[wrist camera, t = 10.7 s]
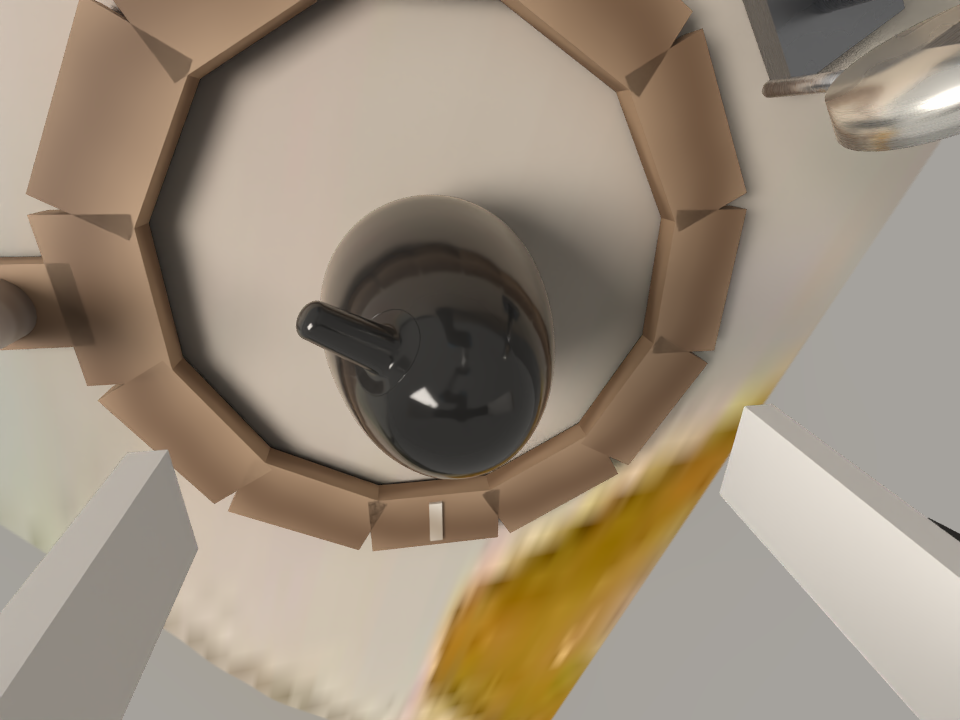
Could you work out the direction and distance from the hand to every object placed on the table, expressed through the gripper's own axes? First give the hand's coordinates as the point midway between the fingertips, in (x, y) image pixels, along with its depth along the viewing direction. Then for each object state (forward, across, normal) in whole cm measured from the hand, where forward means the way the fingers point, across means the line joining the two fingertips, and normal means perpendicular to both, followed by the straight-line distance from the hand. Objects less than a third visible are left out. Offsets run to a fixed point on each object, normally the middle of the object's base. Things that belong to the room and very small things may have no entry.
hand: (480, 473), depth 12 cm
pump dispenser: (+17, 0, 0) cm, 17 cm away
